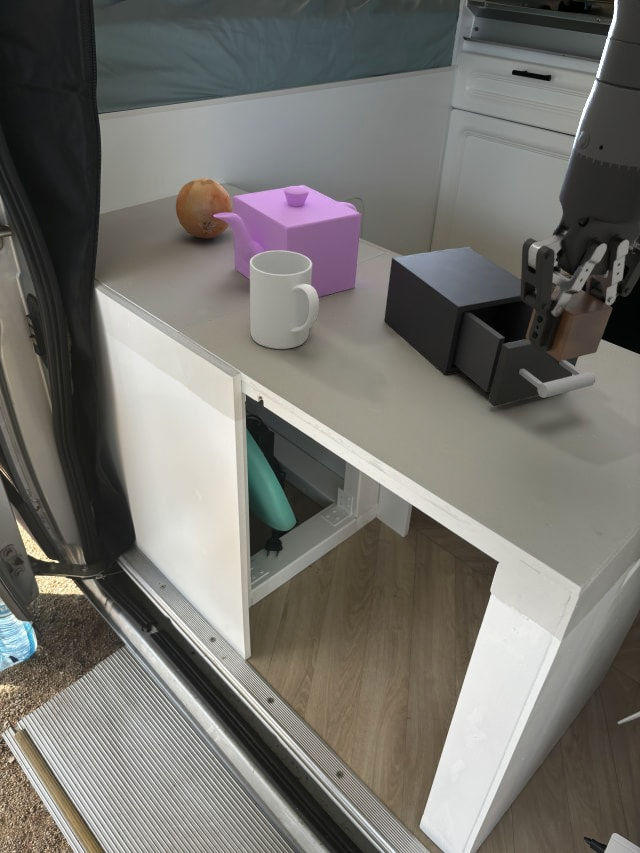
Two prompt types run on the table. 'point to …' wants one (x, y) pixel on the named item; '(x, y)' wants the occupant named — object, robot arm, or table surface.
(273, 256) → the mug
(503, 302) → the cabinet
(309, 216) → the teapot
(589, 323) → the block
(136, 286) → the table surface
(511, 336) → the drawer
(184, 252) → the table surface
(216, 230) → the onion
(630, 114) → the robot arm
